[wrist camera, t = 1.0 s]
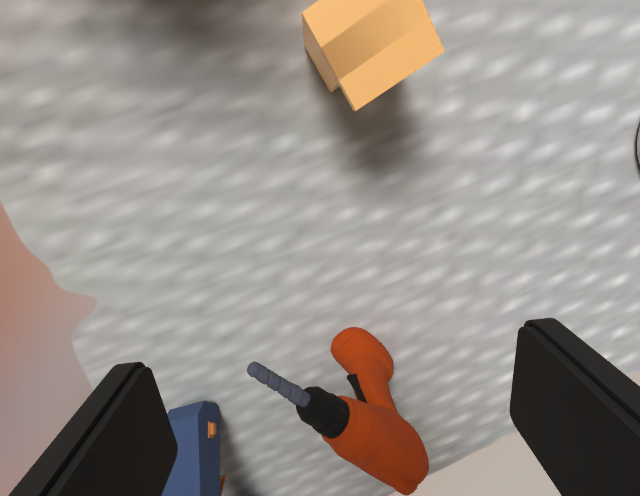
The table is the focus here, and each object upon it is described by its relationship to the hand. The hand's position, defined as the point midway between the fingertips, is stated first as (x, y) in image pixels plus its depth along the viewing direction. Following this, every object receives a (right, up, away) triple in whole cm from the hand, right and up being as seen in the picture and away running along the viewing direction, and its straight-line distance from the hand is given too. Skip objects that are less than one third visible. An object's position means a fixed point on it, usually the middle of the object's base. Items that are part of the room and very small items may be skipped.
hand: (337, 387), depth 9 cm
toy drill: (+1, -5, +28) cm, 29 cm away
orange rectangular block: (+2, +20, +19) cm, 27 cm away
